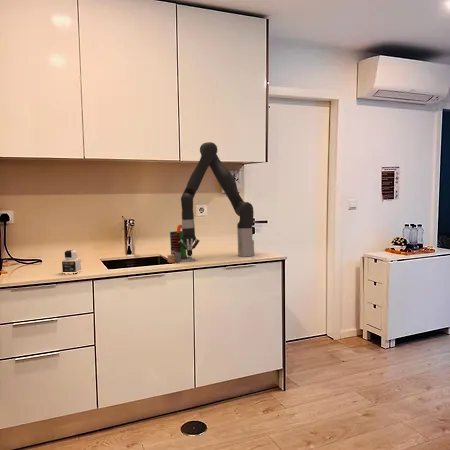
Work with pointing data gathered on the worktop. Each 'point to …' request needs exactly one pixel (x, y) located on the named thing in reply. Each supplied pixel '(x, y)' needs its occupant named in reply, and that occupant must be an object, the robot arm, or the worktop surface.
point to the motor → (174, 240)
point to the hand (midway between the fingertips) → (189, 256)
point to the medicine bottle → (71, 262)
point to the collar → (178, 257)
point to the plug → (173, 259)
